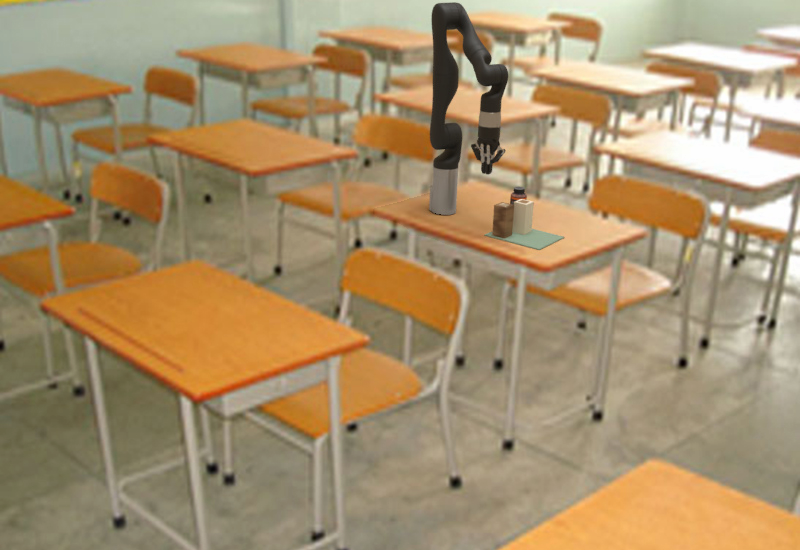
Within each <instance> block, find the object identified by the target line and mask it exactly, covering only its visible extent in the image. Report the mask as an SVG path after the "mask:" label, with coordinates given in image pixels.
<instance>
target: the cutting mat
mask: <svg viewBox="0 0 800 550" xmlns="http://www.w3.org/2000/svg"><path fill="white" fill-rule="evenodd" d="M484 236H485V237H489V238H492V239H496V240H499V241H502V242H503V241H504V242H507V243H509V244H510V243H511V244H515V245H519V246H522V247H526V248H529V249H533V250H536V251H541V250H543V249H545V248H547V247H549V246H552V245H553V244H554V243H555V244H556V242H557V243H558V242H559V241H561V240H563V239H565V236H562V235H558V234H554V233H551V232H547V231H543V230H539V229H535V228H532V231H531V232H529V233H527V234H525V235H522V234H518V233H514V232H512V235H511V236H509V237H507V238H505V239H504V238H500V237H496V236H492V231H490V232H487V233H485V234H484Z"/></svg>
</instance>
